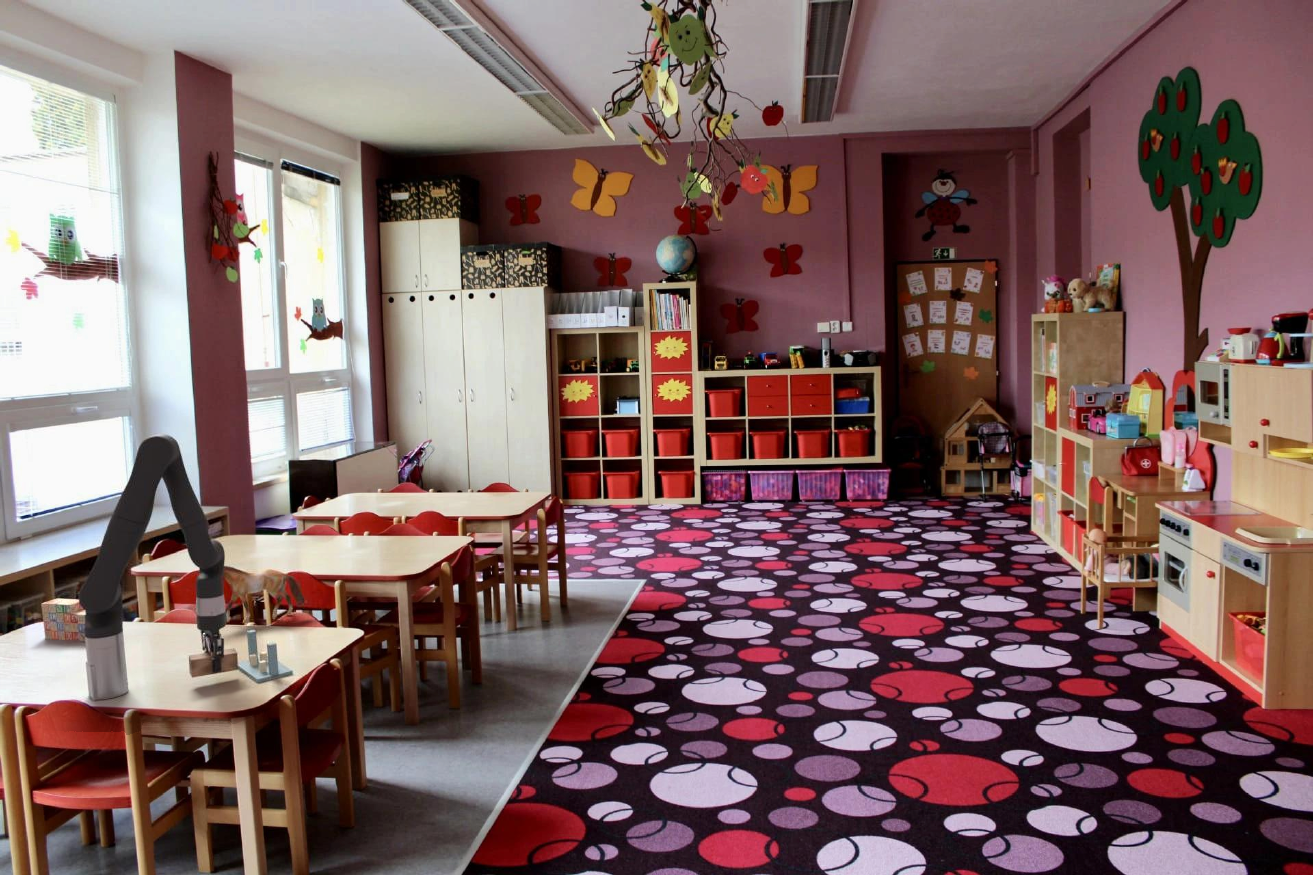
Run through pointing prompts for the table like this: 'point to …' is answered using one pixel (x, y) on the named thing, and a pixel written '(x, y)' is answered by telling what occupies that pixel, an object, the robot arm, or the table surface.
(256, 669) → the peg stand
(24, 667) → the table surface
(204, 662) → the brown wooden block
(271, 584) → the horse figurine
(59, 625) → the stack of blocks
